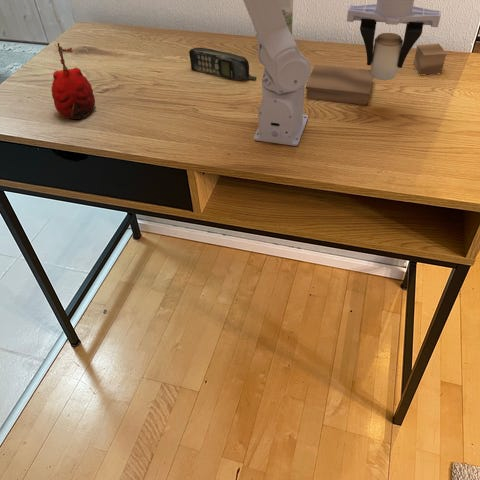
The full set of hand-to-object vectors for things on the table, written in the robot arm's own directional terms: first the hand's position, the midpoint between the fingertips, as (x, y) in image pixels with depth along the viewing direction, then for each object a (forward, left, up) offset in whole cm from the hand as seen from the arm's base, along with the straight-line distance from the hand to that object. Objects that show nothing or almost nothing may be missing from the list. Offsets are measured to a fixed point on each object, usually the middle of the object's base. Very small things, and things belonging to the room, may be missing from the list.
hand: (384, 63), depth 88 cm
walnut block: (+17, -8, -9) cm, 21 cm away
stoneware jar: (0, 0, -2) cm, 2 cm away
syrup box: (+20, +24, -9) cm, 32 cm away
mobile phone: (+6, +33, -9) cm, 34 cm away
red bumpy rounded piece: (-14, +56, -9) cm, 58 cm away
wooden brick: (+5, +8, -9) cm, 13 cm away
